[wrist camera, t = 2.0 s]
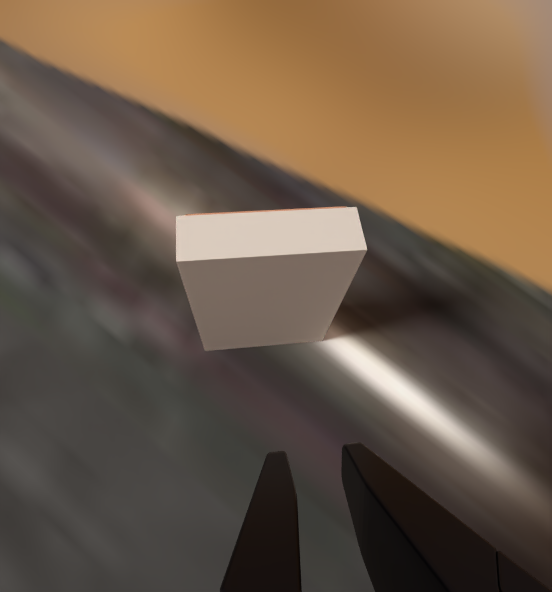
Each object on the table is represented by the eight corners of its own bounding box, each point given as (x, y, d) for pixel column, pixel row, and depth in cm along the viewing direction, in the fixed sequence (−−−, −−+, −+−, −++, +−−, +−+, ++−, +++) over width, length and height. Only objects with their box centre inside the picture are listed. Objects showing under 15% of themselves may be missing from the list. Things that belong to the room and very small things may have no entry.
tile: (322, 340, 24) (367, 249, 15) (204, 350, 23) (176, 261, 14) (316, 306, 25) (354, 201, 16) (203, 314, 24) (176, 209, 15)
